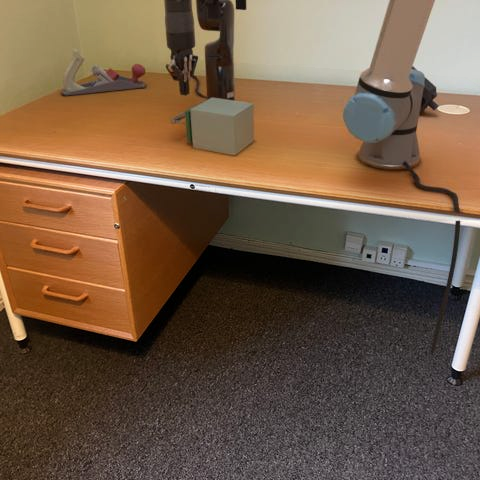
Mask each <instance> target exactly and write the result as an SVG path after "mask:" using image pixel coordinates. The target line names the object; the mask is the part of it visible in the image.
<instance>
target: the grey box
mask: <svg viewBox="0 0 480 480" xmlns="http://www.w3.org/2000/svg"><path fill="white" fill-rule="evenodd" d="M204 101H205V102H203V101H202V102H203V103H201V102H200V103H201V104H199V103H198V104H199V105H198V104H196V105H197V106H196V105H195V106H196V107H194V106H193V107H194V108H192V107H191V108H192V109H190V108H189V109H190V111H191V126H192V140H193V142H192V148H193V149H197V150H203V151H209V152H214V153H219V154H224V155H229V156H237V155H238V154H239V153H240V152H241V151H243V150H244V149H246V148H247V147H248V146H249V145H251V144H252V143H253V142H255V125H254V124H255V117H254V116H255V114H254V113H255V107H254V106H255V105H254V103H253V102H247V101H239V100H235V101H233V100H226V99H219V98H210V99H208V100H207V99H206V100H204Z"/></svg>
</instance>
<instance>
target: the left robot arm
mask: <svg viewBox="0 0 480 480" xmlns="http://www.w3.org/2000/svg"><path fill="white" fill-rule="evenodd" d="M163 5H164V26H165V27H164V28H165V39H166V47H167V48H168V49H169V51H170V62H169V64H168V63H167V64H166V65H165V69H166V70H167V72H168V74H169V76H170V77H171V78H172V80H173V81H174V82H178V87H179V94H180V95H181V96H188V95H190V80H191V77H192V78H194V79H195V80H196V86H195V89H194V90H195V93H196V94H197V95H198V96H199V97H201V98H204V99H206V100H208V99H210V98H219V99H226V100H233V101H236V99H235V98H236V97H235V94H236V93H235V90H236V89H235V57H234V56H235V55H234V52H235V51H234V50H235V49H234V48H235V25H236V24H235V23H236V21H235V20H236V16H235V15H236V13H235V11H236V9H235V6H234V2H233V1H232V0H219V13H220V18H219V19H213V18H208V2H207V0H195V7H196V8H195V9H196V18H197V22H198V26H199V27H200V29H201V30H203V31H207V32H219V35H218V38H217V39H216V40H212V41H210V42H207V43H206V44H205V45H204V48H203V49H204V65H205V84H206V86H205V87H206V95H205V96H204V95H203V94H202V93H201V92H200V91H198V90H199V85H200V80H199V78H198V77H197V76H196V75H195V71H196V68H197V63H198V61H199V56H198V55H194V50H193V49H194V48H195V47H196V33H195V17H194V13H193V0H163Z"/></svg>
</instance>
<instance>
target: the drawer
mask: <svg viewBox="0 0 480 480" xmlns="http://www.w3.org/2000/svg"><path fill="white" fill-rule="evenodd" d="M205 101H206V100H203V101H202V102H200V103H197V104H195V105H194V106H192V107H191V108H188V109H187V110H185V111H183V112H181V113H179V114H177V115H175V116H174V117H173V116H172V118H170V119H169V123H170V124H171V125H175V124H180V125H185V130H186V131H185V133H186V142H187V143H190V144H191V143H193V140H192V126H191V111H190V109H192V108H194V107H196V106H197V105H199V104H201V103H203V102H205ZM184 119H185V121H183V120H184Z"/></svg>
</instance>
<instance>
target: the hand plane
mask: <svg viewBox="0 0 480 480" xmlns="http://www.w3.org/2000/svg"><path fill="white" fill-rule="evenodd" d="M85 59H86V58H85V56H84V55H83V54H82V53H81V52H80V51H79V50H77V49H76V48H73V50H72V58H71V62H70V63H69V65H68V67H67V68H66V70H65V72H64V74H63V80H62V84H63V88H62V90H61V93H62V95H63V96H74V95H84V94H94V93H104V92H112V91H113V92H114V91H121V90H132V89H142V88H146V83H145V81H143V80H139V78H142V77H144V76H145V75H146V68H145V66H143V65H141V64H139V63H134V64H133V65H132V66H131V73H132V76H131V78H130V77H126V76H123V75H120V74H119V73H117V72H116V71H114V70H113V69H112V68H111V67H109V68H108V70H107V71H105V70H104V69H103V68H102V67H100V65H94V66H92V68H91V70H90V72H91V75H93V76H94V77H97V78H95V79H90V81H89V82H86V83H80V84H78V83H77V82H76V81H75V78H76V74H77V72H78V71H79V69H80V68H81V66H82V65H83V63H84V61H85Z"/></svg>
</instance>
